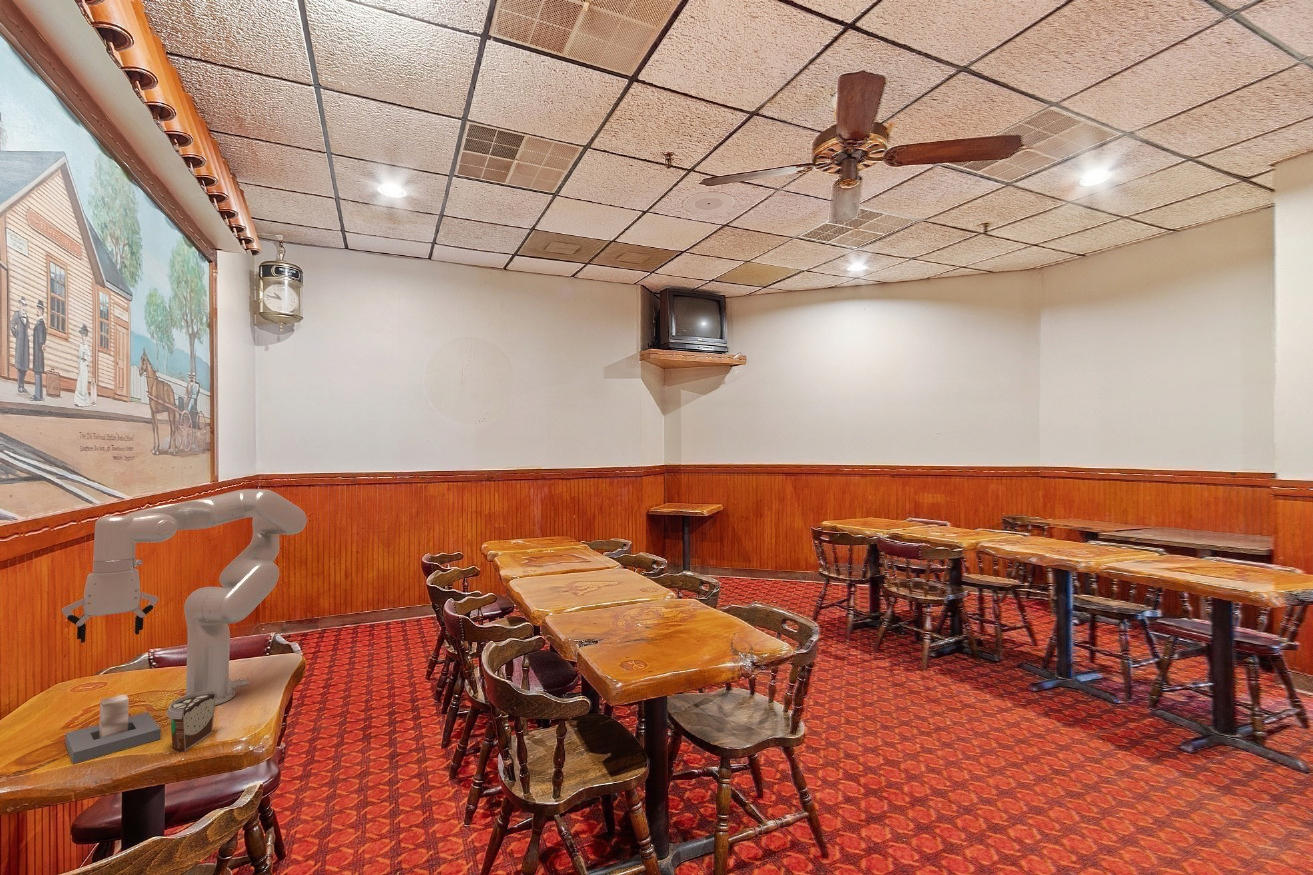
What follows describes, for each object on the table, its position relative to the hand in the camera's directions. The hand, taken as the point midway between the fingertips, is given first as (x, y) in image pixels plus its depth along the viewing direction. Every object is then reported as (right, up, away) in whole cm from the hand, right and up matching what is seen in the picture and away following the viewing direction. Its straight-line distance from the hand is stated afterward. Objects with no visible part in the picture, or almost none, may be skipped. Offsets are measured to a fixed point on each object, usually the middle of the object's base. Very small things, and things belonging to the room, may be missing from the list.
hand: (110, 637), depth 141 cm
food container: (+20, -25, -2) cm, 32 cm away
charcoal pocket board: (+2, -24, -2) cm, 25 cm away
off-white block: (+2, -24, -2) cm, 25 cm away
